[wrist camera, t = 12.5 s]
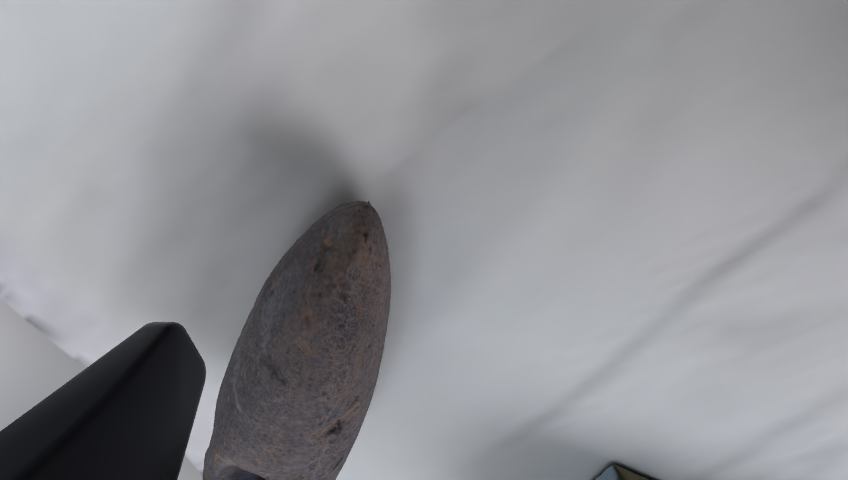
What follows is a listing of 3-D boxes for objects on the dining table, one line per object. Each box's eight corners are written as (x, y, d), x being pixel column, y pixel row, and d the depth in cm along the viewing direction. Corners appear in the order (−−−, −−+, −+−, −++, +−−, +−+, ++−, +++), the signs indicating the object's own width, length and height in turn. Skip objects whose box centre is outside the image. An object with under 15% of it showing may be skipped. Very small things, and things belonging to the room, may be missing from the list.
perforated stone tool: (311, 132, 23) (221, 285, 17) (466, 195, 23) (422, 364, 18) (238, 386, 33) (167, 531, 28) (347, 427, 33) (297, 577, 28)
